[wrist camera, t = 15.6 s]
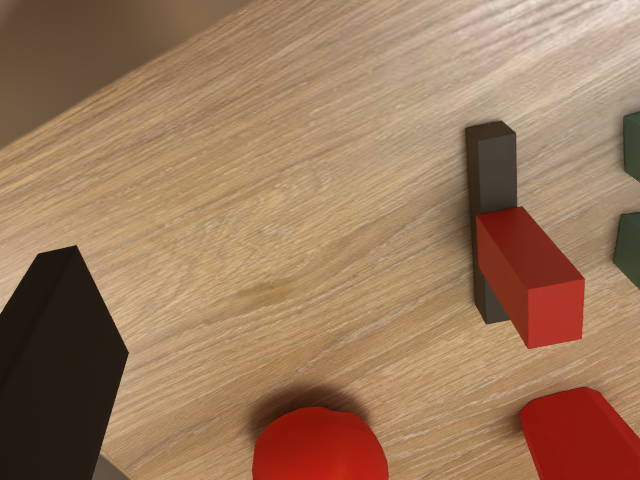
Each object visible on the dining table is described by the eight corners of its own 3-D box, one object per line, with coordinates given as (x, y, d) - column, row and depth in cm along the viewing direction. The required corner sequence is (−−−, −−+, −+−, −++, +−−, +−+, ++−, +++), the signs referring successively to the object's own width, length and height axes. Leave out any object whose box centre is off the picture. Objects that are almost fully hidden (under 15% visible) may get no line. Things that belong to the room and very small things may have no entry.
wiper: (471, 306, 45) (528, 415, 35) (460, 128, 38) (527, 203, 28) (511, 298, 45) (578, 405, 35) (507, 119, 38) (590, 191, 28)
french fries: (512, 439, 52) (581, 587, 41) (506, 404, 50) (578, 550, 39) (616, 413, 52) (716, 555, 40) (616, 377, 50) (720, 516, 38)
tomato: (272, 370, 46) (274, 461, 39) (402, 398, 49) (428, 488, 41) (234, 463, 51) (229, 561, 43) (354, 484, 53) (370, 580, 46)
